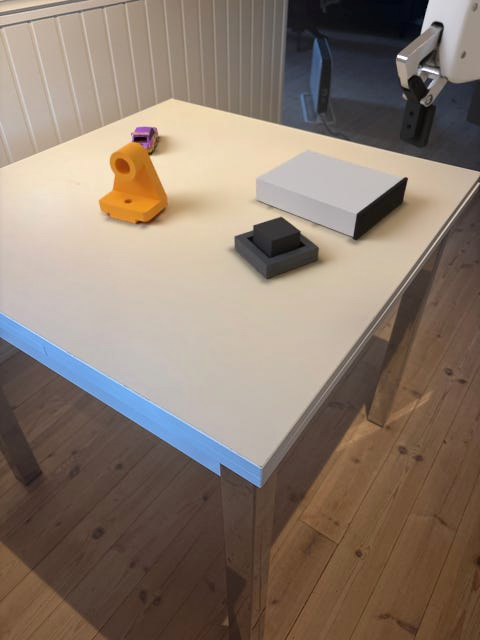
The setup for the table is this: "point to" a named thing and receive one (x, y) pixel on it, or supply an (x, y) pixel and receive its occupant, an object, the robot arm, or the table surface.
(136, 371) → the table surface
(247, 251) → the base pad
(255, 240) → the black block
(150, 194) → the bracket
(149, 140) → the toy car
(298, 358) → the table surface
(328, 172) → the disc drive
